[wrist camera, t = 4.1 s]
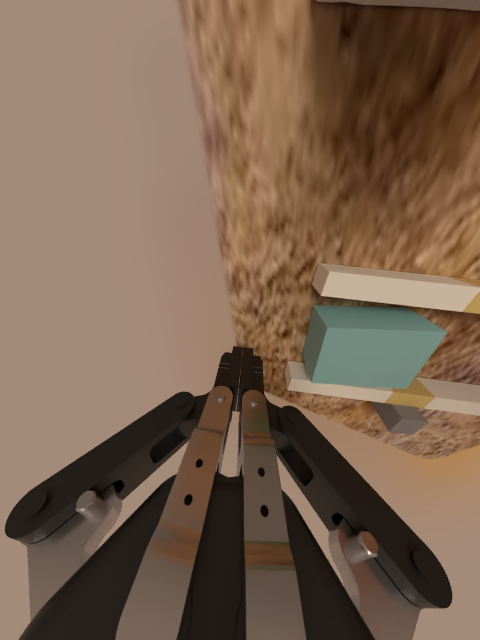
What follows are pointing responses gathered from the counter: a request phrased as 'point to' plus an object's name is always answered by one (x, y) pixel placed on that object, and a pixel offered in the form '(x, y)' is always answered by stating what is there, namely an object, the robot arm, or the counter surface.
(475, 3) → the skincare box
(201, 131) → the counter surface
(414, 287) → the track
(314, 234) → the counter surface
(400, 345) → the block
